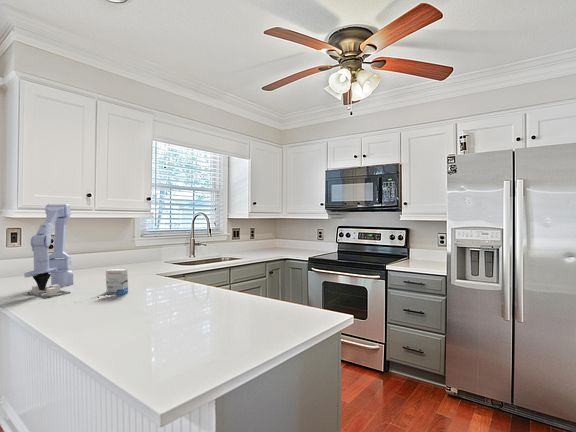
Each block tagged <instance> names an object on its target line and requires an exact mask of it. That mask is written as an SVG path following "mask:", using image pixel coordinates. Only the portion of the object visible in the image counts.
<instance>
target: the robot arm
mask: <svg viewBox="0 0 576 432" xmlns="http://www.w3.org/2000/svg"><path fill="white" fill-rule="evenodd" d="M44 208H45V209H44V211H45V215H46V217H45V220H44V223H41V224H40V226H39V227H38V230H37V232H36V234H35V235H32V236H31V238H30V246H31V251H32V252H33V270H31V271H29V272H24V278H30V277H31V278H33V280H35V283H36V285H38V288H39V290H45V289H47V288H46V287H47V284H48V282H49V279H50V285H55V284H58V285H60V288H63V287H67V286H72V285H74V273H73V271H72V270H71V267H72V260H71V257H72V256H70V255H69V254H68V253H66V250H65V249H66V237H67V236H66V235H67V222H68V221H70V219H71V211H72V209H71V206H70V205H69V204H68V203H47V204H46V205H45V207H44ZM54 224H55V225H54ZM53 233H54V239H53V240H54V241H53V242H54V243H53V252H52V253H51V254H49V253H50V250H49V249H50V248H49V247H50V246H51V243H52V234H53Z"/></svg>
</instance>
